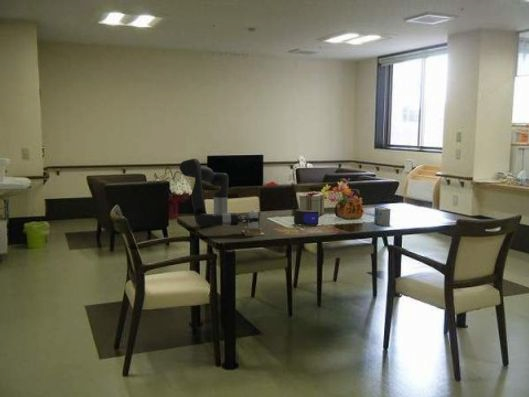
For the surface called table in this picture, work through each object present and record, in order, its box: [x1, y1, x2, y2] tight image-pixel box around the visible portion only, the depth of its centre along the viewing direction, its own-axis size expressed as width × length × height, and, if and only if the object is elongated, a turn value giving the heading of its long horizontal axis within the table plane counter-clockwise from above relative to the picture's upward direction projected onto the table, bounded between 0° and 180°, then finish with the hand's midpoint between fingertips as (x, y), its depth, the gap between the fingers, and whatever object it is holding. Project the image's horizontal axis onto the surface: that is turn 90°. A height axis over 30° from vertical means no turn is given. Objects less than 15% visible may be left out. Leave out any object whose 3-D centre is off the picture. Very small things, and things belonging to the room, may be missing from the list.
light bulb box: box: [373, 206, 391, 226], centre depth 358 cm, size 11×7×11 cm, turn 14°
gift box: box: [298, 190, 326, 217], centre depth 392 cm, size 17×18×17 cm
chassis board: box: [241, 225, 265, 237], centre depth 318 cm, size 13×11×4 cm
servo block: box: [247, 209, 259, 229], centre depth 318 cm, size 5×5×12 cm
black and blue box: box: [293, 209, 320, 226], centre depth 350 cm, size 16×5×9 cm, turn 81°
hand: (257, 218), depth 318 cm, fingers closed on servo block, 5 cm apart
